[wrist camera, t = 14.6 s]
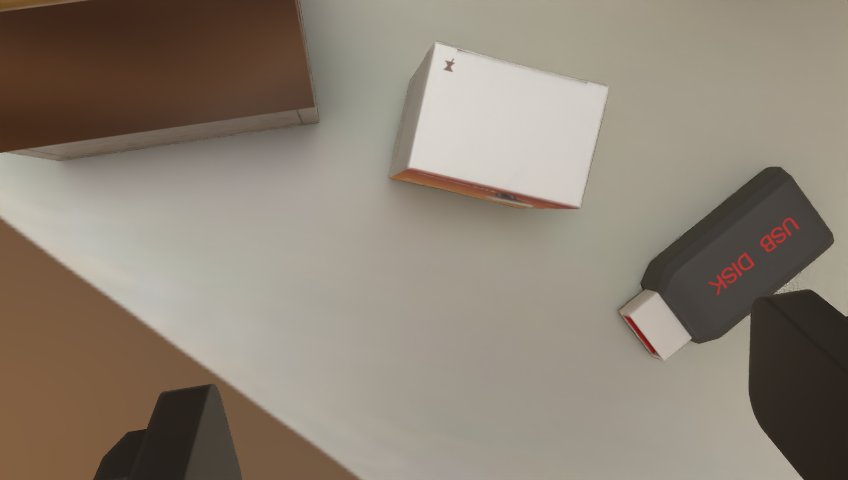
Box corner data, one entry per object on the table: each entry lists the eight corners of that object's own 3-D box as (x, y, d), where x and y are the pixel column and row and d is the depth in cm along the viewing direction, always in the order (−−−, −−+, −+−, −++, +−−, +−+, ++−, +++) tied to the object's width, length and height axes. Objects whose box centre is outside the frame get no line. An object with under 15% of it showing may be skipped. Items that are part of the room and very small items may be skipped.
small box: (385, 177, 44) (400, 168, 33) (409, 78, 44) (431, 37, 33) (525, 211, 45) (583, 213, 34) (549, 113, 45) (613, 84, 34)
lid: (-392, -227, 18) (-442, -22, 16) (244, -289, 19) (272, -107, 17) (-23, 139, 33) (-25, 266, 31) (313, 91, 34) (331, 210, 32)
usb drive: (818, 237, 47) (848, 239, 44) (660, 368, 46) (680, 377, 43) (767, 166, 46) (794, 164, 43) (606, 297, 46) (623, 303, 43)
